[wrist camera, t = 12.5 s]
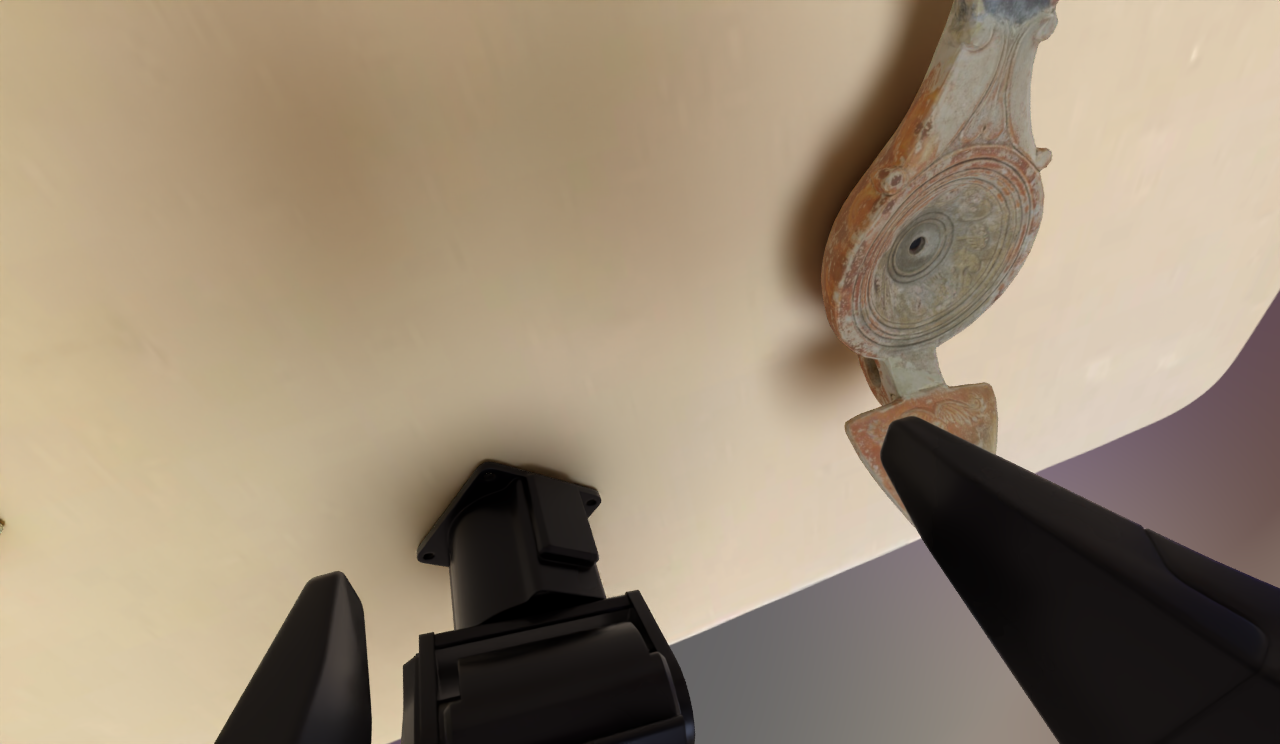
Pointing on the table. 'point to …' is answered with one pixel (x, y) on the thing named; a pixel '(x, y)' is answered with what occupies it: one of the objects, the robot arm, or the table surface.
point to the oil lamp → (941, 226)
